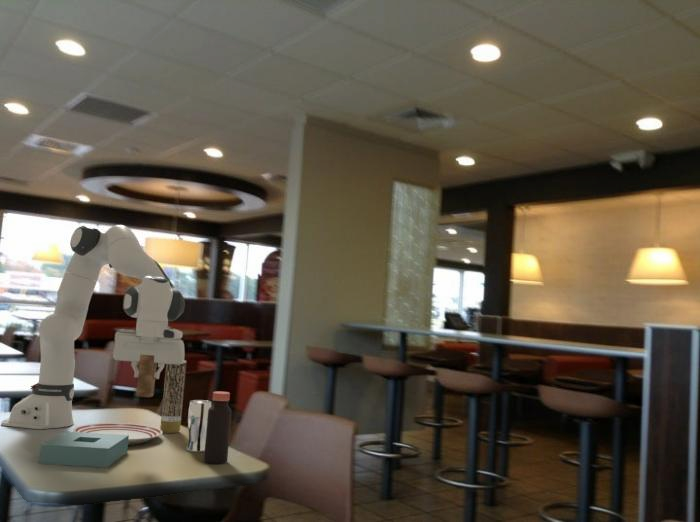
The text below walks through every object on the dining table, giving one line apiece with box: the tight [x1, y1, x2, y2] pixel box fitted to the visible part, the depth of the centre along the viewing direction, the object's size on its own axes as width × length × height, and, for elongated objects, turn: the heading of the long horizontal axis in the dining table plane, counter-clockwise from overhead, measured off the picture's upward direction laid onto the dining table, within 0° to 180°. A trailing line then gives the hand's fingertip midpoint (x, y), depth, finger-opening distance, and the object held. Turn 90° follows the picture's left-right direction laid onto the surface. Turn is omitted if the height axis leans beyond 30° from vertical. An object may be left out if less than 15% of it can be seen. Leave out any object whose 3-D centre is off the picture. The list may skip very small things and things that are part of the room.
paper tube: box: [159, 359, 187, 434], centre depth 217 cm, size 7×7×25 cm
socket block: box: [38, 431, 129, 468], centre depth 174 cm, size 18×18×5 cm
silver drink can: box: [186, 399, 212, 453], centre depth 193 cm, size 7×7×15 cm
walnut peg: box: [135, 355, 158, 398], centre depth 180 cm, size 4×4×12 cm
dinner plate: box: [72, 422, 164, 446], centre depth 200 cm, size 28×27×3 cm
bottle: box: [203, 390, 233, 465], centre depth 180 cm, size 7×7×20 cm
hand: (146, 378), depth 180 cm, fingers closed on walnut peg, 4 cm apart
